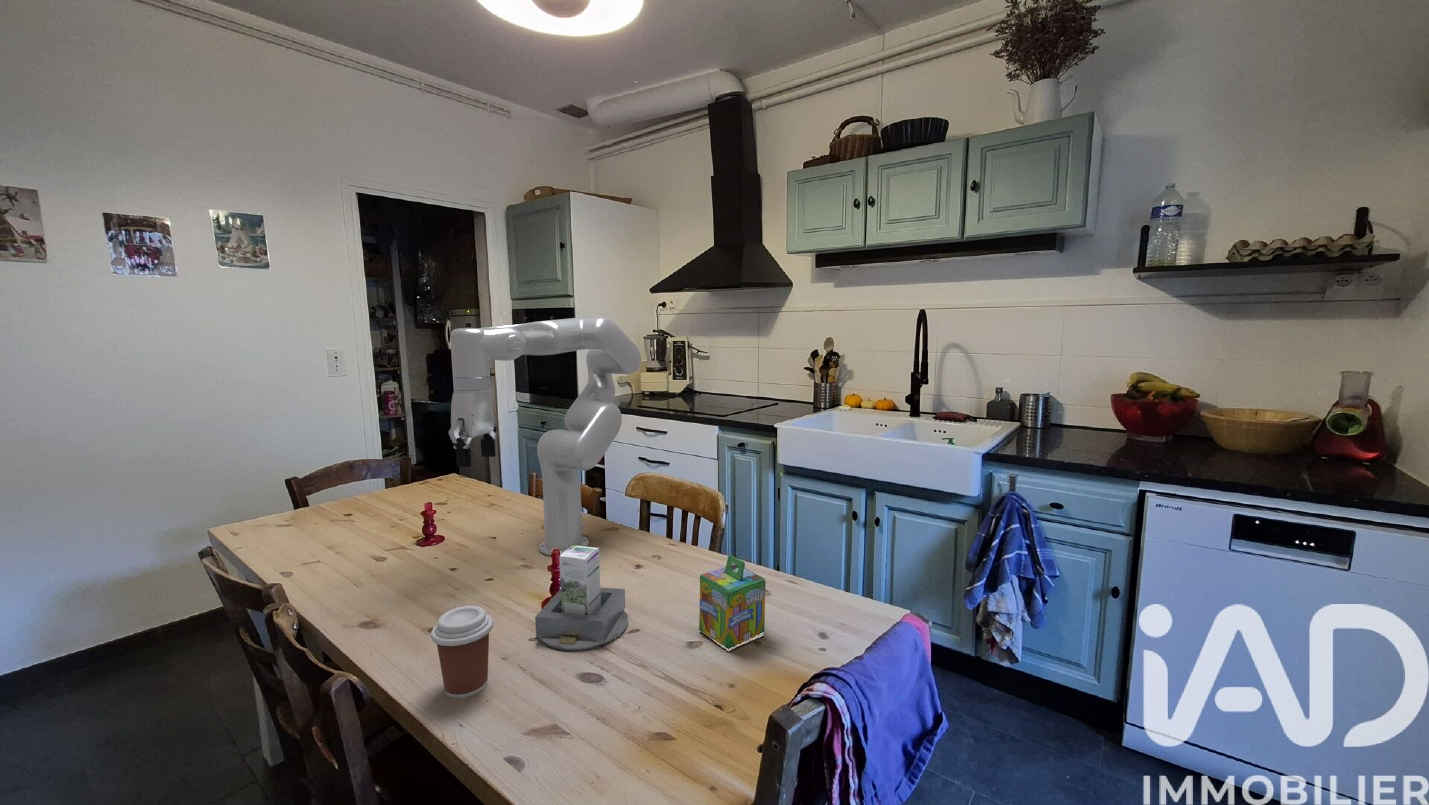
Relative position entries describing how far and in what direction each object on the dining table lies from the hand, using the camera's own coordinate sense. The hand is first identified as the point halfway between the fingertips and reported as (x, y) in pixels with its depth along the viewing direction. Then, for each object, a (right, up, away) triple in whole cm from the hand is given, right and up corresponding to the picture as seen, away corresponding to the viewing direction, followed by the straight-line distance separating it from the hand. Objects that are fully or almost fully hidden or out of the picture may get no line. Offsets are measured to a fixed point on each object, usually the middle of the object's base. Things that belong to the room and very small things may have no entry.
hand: (476, 461), depth 125 cm
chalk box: (+56, -31, -19) cm, 67 cm away
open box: (+28, -30, -16) cm, 44 cm away
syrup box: (+27, -30, -17) cm, 44 cm away
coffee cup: (+13, -33, -34) cm, 49 cm away
